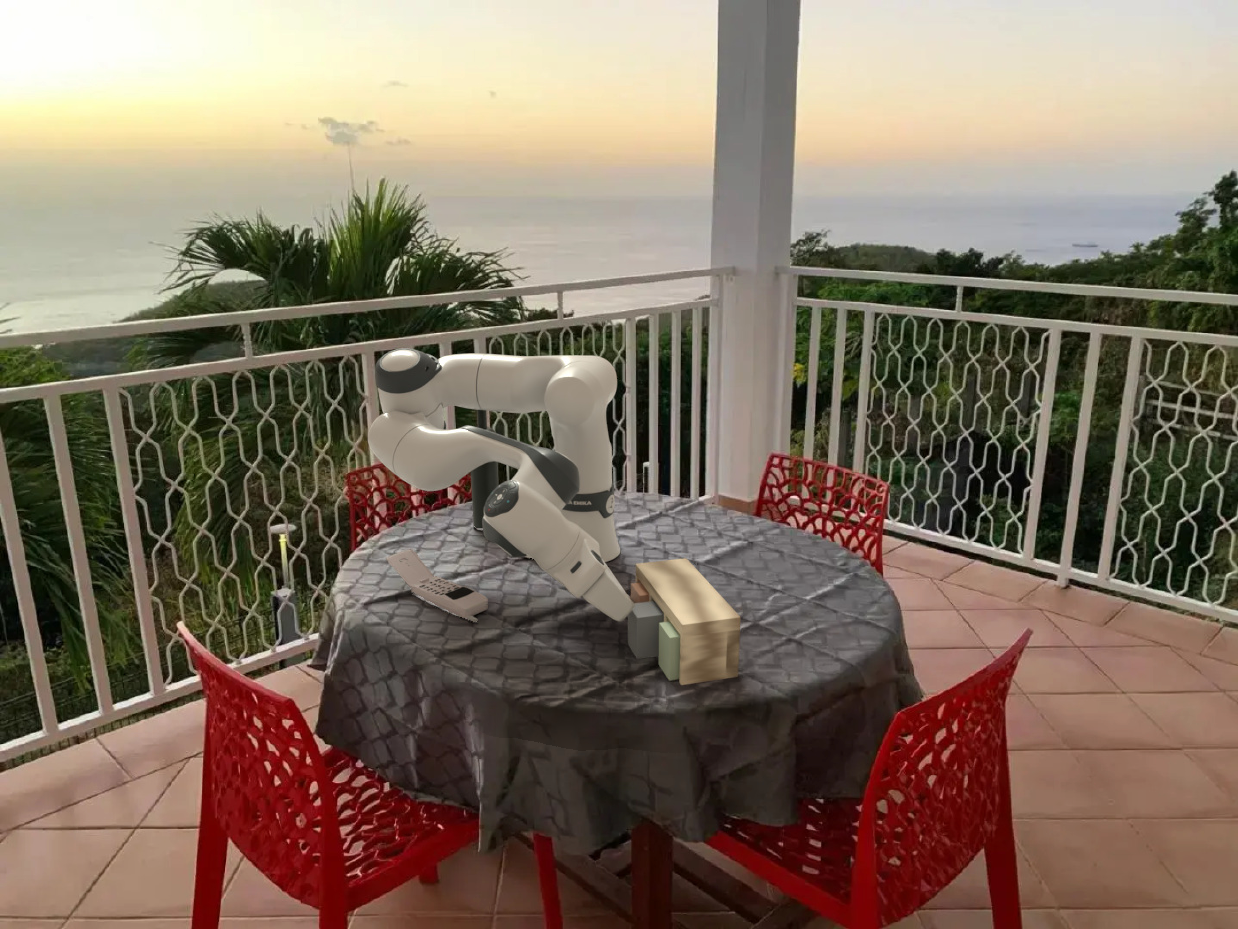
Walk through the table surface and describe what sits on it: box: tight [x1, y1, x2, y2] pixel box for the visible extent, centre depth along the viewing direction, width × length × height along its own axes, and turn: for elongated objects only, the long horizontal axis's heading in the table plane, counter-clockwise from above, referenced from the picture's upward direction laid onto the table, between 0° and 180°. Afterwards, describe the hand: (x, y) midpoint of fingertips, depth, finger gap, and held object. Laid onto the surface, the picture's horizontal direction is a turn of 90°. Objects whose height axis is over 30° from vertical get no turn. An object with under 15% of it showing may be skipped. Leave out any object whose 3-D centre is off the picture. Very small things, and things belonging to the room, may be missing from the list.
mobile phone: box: [385, 548, 489, 623], centre depth 161 cm, size 6×6×25 cm
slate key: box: [627, 601, 664, 660], centre depth 142 cm, size 7×5×7 cm
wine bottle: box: [470, 410, 500, 528], centre depth 193 cm, size 6×6×30 cm
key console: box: [634, 557, 741, 686], centre depth 143 cm, size 9×23×10 cm, turn 16°
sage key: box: [658, 622, 680, 681], centre depth 136 cm, size 7×5×7 cm
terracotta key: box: [630, 582, 649, 603], centre depth 150 cm, size 7×5×7 cm
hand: (631, 606), depth 149 cm, fingers closed, pressing on terracotta key
